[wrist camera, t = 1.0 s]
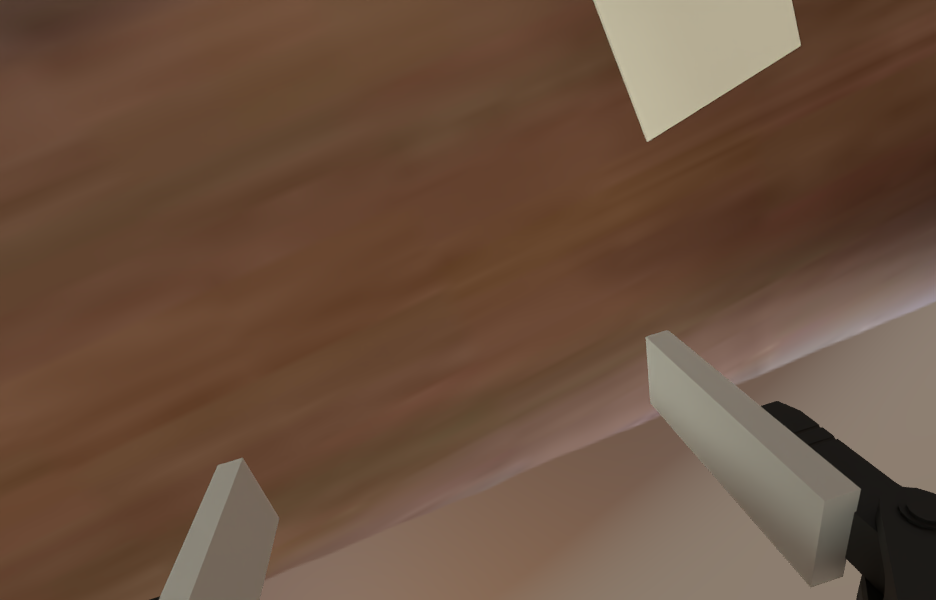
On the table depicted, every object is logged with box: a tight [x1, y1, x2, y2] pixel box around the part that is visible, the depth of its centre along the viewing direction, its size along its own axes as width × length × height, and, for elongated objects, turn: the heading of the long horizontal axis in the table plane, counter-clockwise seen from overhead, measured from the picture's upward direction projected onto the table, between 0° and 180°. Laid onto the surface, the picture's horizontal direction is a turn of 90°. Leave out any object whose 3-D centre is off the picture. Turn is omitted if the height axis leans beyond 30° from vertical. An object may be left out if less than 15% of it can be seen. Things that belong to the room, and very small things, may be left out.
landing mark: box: [593, 0, 801, 142], centre depth 35 cm, size 14×14×1 cm
